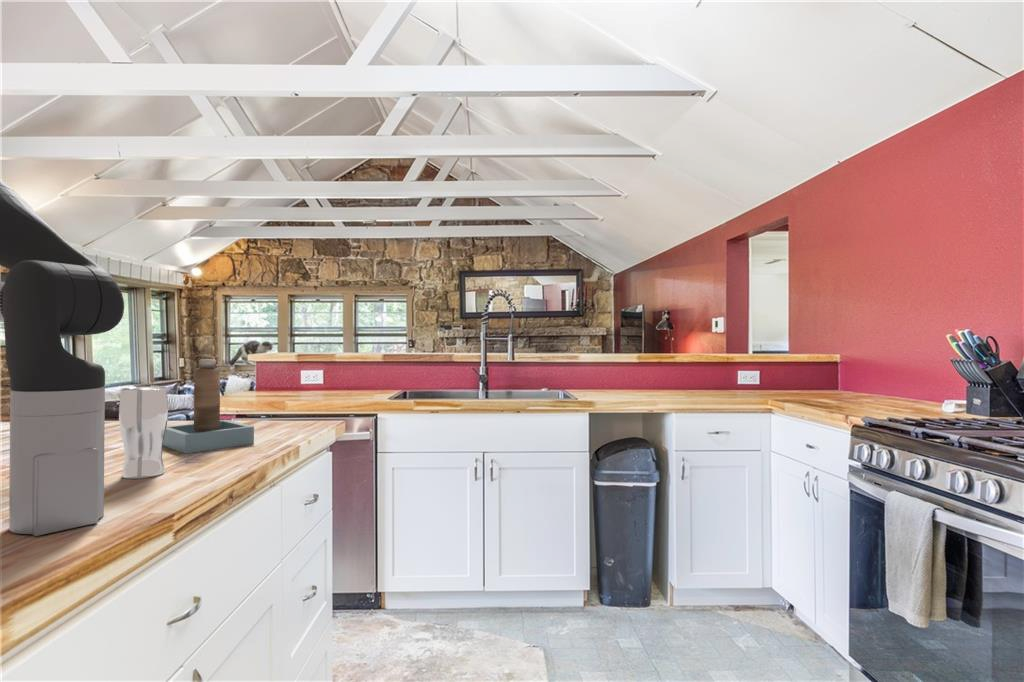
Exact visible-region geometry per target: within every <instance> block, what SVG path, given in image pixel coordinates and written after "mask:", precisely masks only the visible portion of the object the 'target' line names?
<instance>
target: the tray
mask: <svg viewBox="0 0 1024 682" xmlns="http://www.w3.org/2000/svg"><path fill="white" fill-rule="evenodd" d="M254 443H255V426H252V425H250V424H244V423H241V422H237V421H236V422H235V421H233V420H232V421H231V420H227V419H223V420H220V430H214V431H206V432H198V433H194V423H186V424H177V425H170V426H168V425H167V426H166V431H165V436H164V441H163V446H164V447H166V448H168V449H172V450H174V451H177V452H179V453H181V454H191V453H197V452H206V451H211V450H218V449H219V450H220V449H225V448H231V447H232V448H233V447H240V446H245V445H253V444H254ZM163 446H162V447H163Z"/></svg>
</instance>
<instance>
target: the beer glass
mask: <svg viewBox="0 0 1024 682" xmlns="http://www.w3.org/2000/svg"><path fill="white" fill-rule="evenodd" d="M167 388H168V387H167V386H157V385H155V386H154V385H153V386H152V385H151V386H134V387H133V386H132V387H131V386H130V387H122V388H120V396H119V397H120V398H119V406H118V407H119V408H118V422H119V429H120V434H121V439H122V443H123V449H124V461H123V462H124V463H123V467H122V472H121V477H122V478H123V479H126V480H137V479H138V480H140V479H147V478H153V477H158V476H160V475H162V474H163V475H164V473H165V466H164V462H163V461H164V460H163V441H164V436H165V431H166V427H167V426H168V419H169V399H168V391H167V390H168V389H167Z"/></svg>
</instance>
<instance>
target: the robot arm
mask: <svg viewBox="0 0 1024 682" xmlns="http://www.w3.org/2000/svg"><path fill="white" fill-rule="evenodd" d="M0 266H1V267H3V268H6V269H8V270H9V271H8V272H7V275H6V277H5V280H4V281H0V323H3V329H4V344H5V345H4V347H5V349H4V350H5V363H6V364H5V365H6V367H7V371H8V375H9V380H10V381H9V382H10V383H9V384H10V385H9V386H10V387H9V389H10V392H9V393H10V394H9V398H10V400H9V402H10V403H9V475H8V476H9V479H8V480H9V483H8V484H9V493H8V495H9V497H8V498H9V503H8V504H9V507H8V508H9V509H8V510H9V511H8V512H9V513H8V514H9V517H8V519H9V521H8V522H9V523H8V524H9V525H8V526H9V527H8V530H9V531H10V532H11V533H13V534H19V535H20V534H23V535H33V536H34V537H36V536H37V537H38V536H43V535H45V534H52V533H57V532H60V531H65V530H71V529H75V528H79V527H84V526H88V525H89V526H90V525H94V524H97V523H99V519H101V518H103V516H104V515H105V510H104V509H105V428H106V427H105V424H106V423H105V422H106V421H105V420H106V418H105V417H106V415H105V413H106V411H105V410H106V409H105V408H106V372H105V368H104V367H103V366H102V365H100V364H98V363H96V362H92V361H88V360H85V359H84V358H79V357H77V356H75V355H73V354H72V353H71V352H69V351H67V350H66V349H65V347H64V344H63V343H62V337H61V336H89V335H92V336H93V335H98V334H103V333H106V332H108V331H110V330H112V329H115V327H117V326H118V325H119V323H120V322H121V321H122V319H123V317H124V314H125V313H124V312H125V300H124V297H123V293H122V290H121V288H120V286H119V284H118V283H117V281H116V280H115V279H114V277H113V276H112V275H111V274H110V273H109V272H108V271H106V270H105V269H104V268H103V267H102V266H100V264H98V263H96V262H95V261H93V260H92V259H91V258H89V257H87V255H85V254H84V253H83V252H81V251H79V250H78V249H76V248H75V247H74V246H73V245H72V244H70V243H69V242H68V241H67V240H66V239H64V238H63V237H62V236H61V235H60V234H59V233H58V232H57V231H56V230H55V229H54V228H53V227H51V225H49V224H48V223H47V222H46V221H45V220H44V219H43V218H42V217H41V216H40V215H38V213H37V212H36V211H35V210H34V209H33V208H32V207H31V206H30V205H29V203H28V202H26V201H25V200H24V199H23V198H22V197H21V195H19V193H17V192H16V191H15V190H14V189H12V188H11V187H10V186H9V185H8V184H7V183H6V182H4V180H3V179H2V178H1V177H0Z"/></svg>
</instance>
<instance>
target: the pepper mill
mask: <svg viewBox="0 0 1024 682" xmlns="http://www.w3.org/2000/svg"><path fill="white" fill-rule="evenodd" d="M216 364H217V361H216V359H213V358H212V359H211V358H210V359H209V358H208V359H204V358H203V359H199V360H198V368H193V369H194V370H193V371H194V372H193V373H194V375H193V424H194V433H198V432H206V431H214V430H220V421H221V418H220V417H221V406H220V405H221V368H219V367H216Z"/></svg>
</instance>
